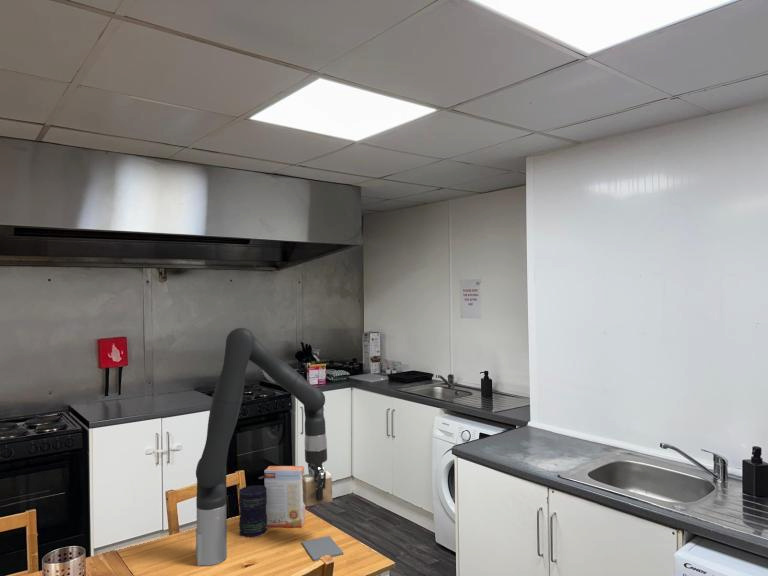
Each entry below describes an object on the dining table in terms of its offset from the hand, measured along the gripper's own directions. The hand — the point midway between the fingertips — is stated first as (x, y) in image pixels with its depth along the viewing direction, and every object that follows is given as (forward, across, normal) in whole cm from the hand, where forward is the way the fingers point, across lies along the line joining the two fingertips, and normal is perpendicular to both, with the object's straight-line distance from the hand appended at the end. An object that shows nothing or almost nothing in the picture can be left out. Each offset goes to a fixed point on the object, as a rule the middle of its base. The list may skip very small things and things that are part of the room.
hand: (317, 497), depth 176 cm
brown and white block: (+1, 0, 0) cm, 1 cm away
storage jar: (+16, -21, -18) cm, 32 cm away
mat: (+16, +3, 0) cm, 16 cm away
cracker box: (+16, -22, -6) cm, 28 cm away
